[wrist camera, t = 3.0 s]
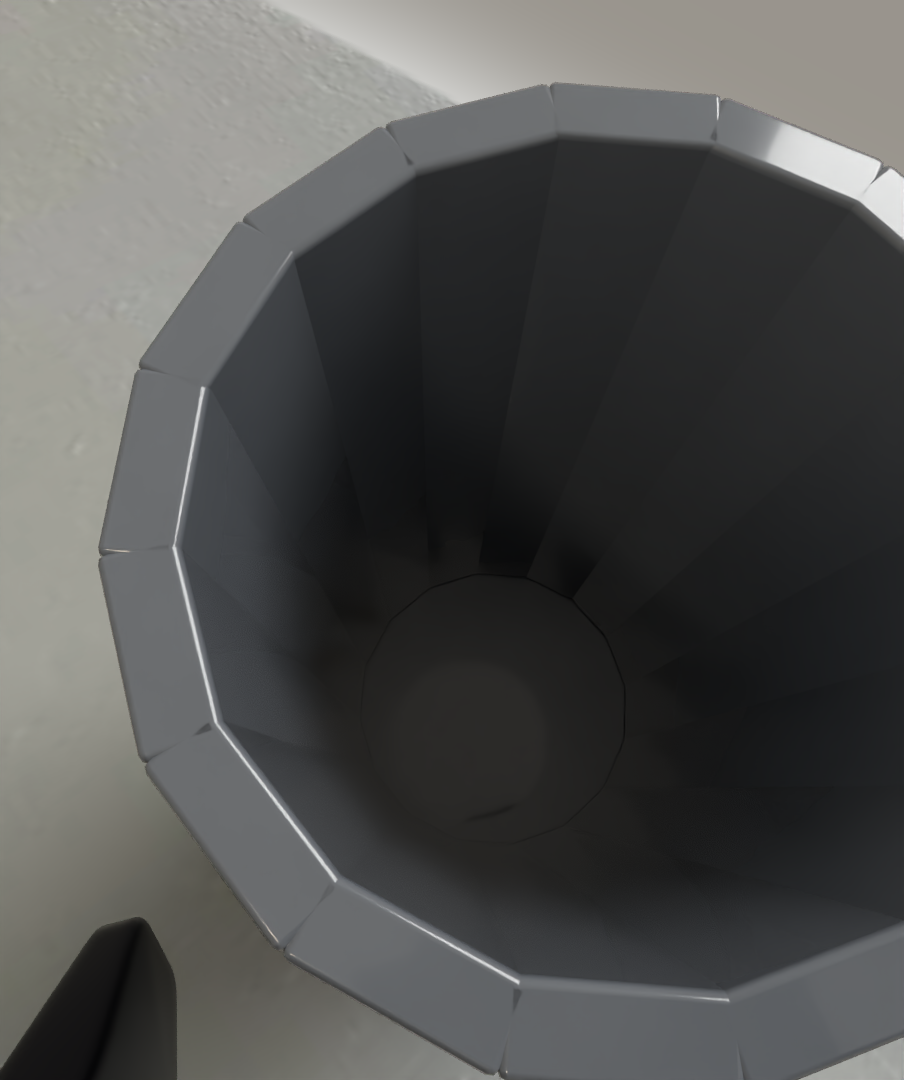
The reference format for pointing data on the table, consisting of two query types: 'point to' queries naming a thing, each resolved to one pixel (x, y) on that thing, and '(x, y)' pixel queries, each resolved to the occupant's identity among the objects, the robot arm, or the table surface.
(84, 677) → the table surface
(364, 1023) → the table surface
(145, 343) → the table surface
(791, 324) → the cup
